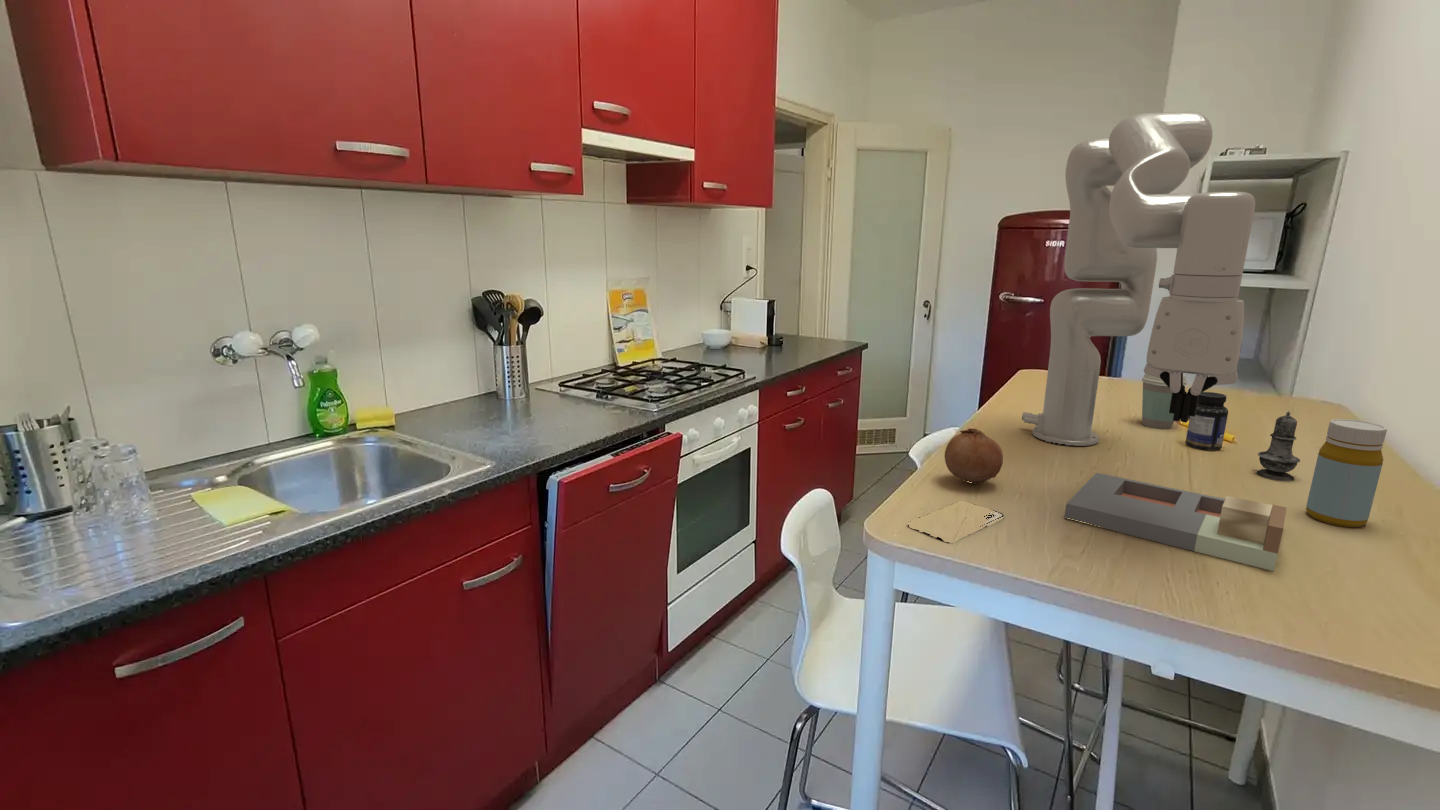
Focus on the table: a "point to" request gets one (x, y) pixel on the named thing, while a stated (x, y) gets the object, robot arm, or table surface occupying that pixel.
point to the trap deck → (1171, 518)
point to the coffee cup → (1157, 403)
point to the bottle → (1347, 473)
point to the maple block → (1244, 519)
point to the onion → (973, 456)
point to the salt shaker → (1280, 451)
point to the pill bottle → (1208, 422)
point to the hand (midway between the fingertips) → (1181, 419)
